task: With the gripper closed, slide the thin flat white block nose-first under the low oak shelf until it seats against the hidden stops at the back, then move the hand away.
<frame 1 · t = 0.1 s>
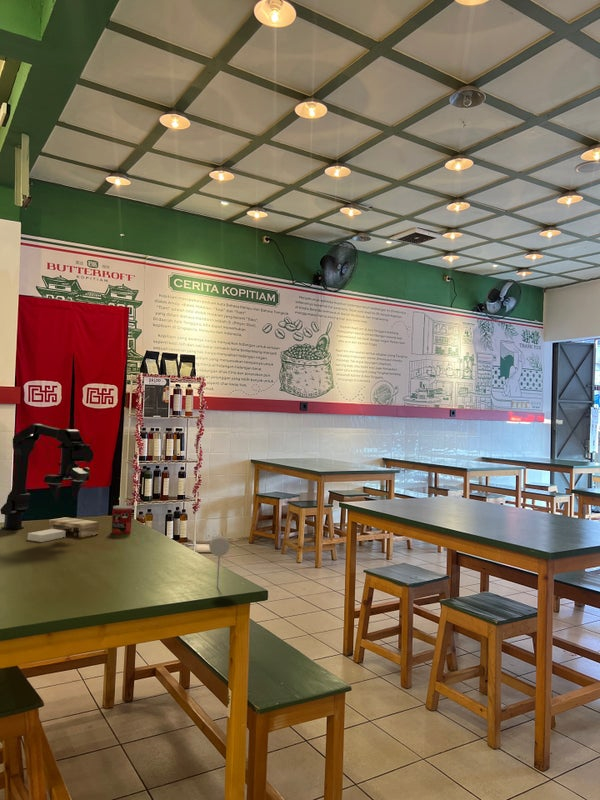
hand: (65, 499, 239), 15 cm above the table, tool pointing down, fingers open, 9 cm apart
canned food: (121, 533, 252), on the table
oak shelf: (73, 533, 246), on the table
flat white block: (46, 538, 233), on the table
lollipop: (217, 588, 176), on the table
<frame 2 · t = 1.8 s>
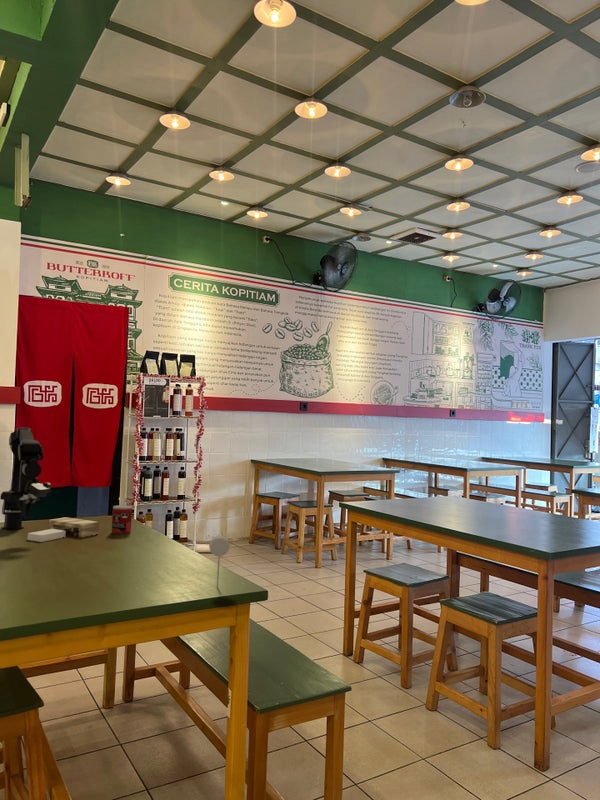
hand: (25, 517, 224), 9 cm above the table, tool pointing down, fingers closed
nothing on the table moved.
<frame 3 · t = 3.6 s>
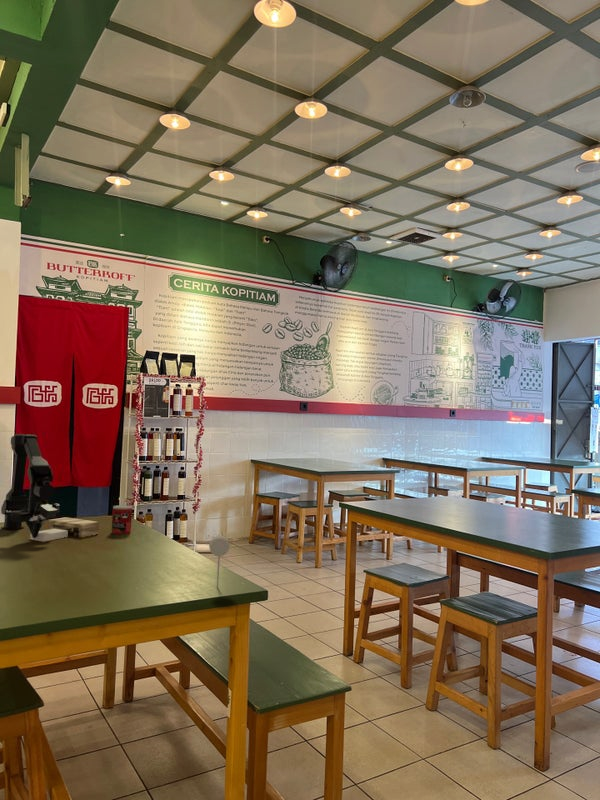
hand: (34, 537, 228), 1 cm above the table, tool pointing down, fingers closed
flat white block: (49, 538, 234), on the table, touching gripper
everything else where it was.
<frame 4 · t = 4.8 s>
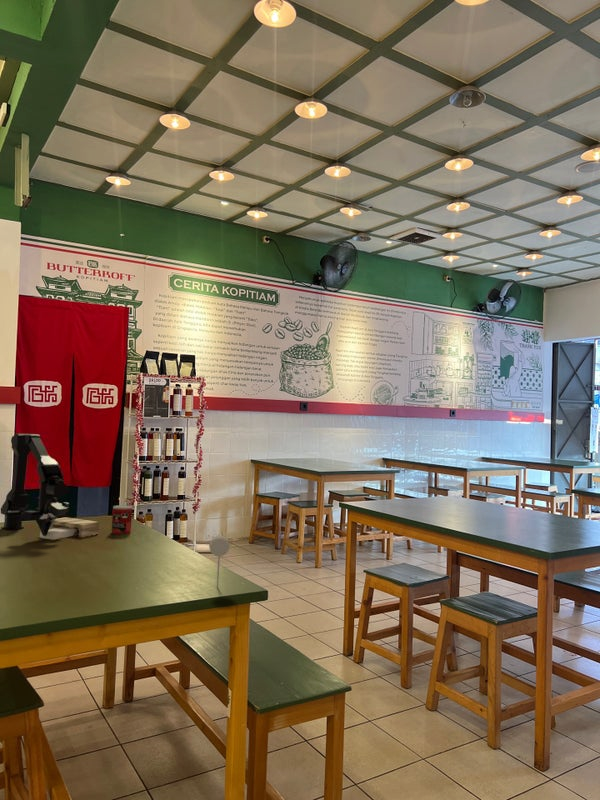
hand: (44, 535, 232), 1 cm above the table, tool pointing down, fingers closed
flat white block: (58, 536, 238), on the table, touching gripper
everything else where it was.
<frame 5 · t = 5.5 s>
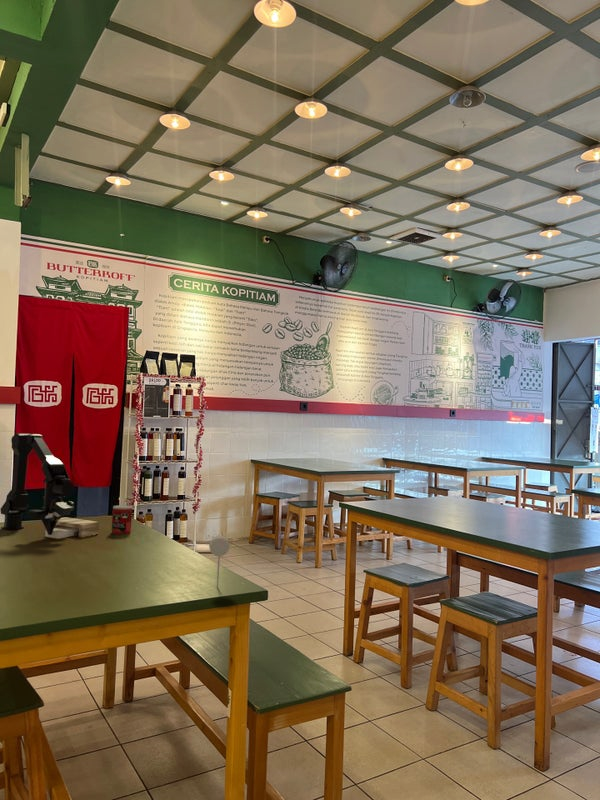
hand: (49, 534, 235), 1 cm above the table, tool pointing down, fingers closed
flat white block: (63, 535, 241), on the table, touching gripper
everything else where it was.
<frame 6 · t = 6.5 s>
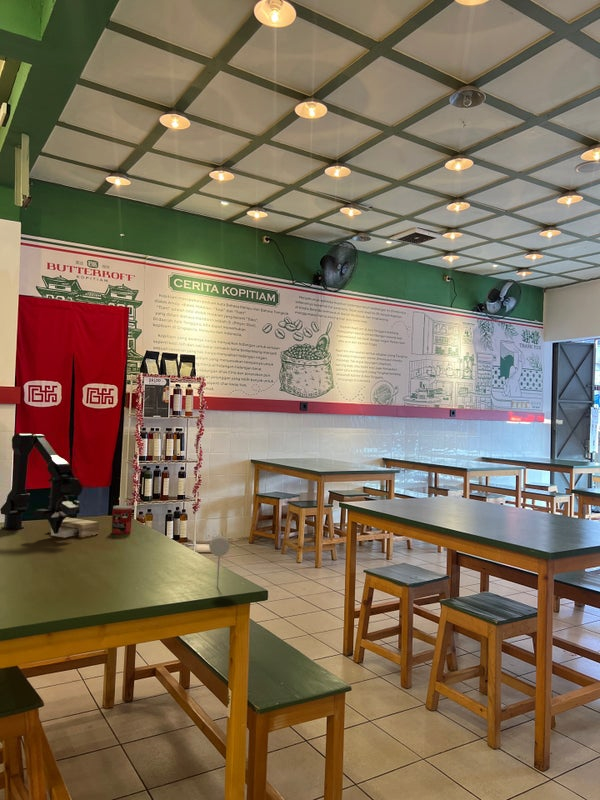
hand: (55, 533, 237), 1 cm above the table, tool pointing down, fingers closed
flat white block: (69, 534, 244), on the table, touching gripper
everything else where it was.
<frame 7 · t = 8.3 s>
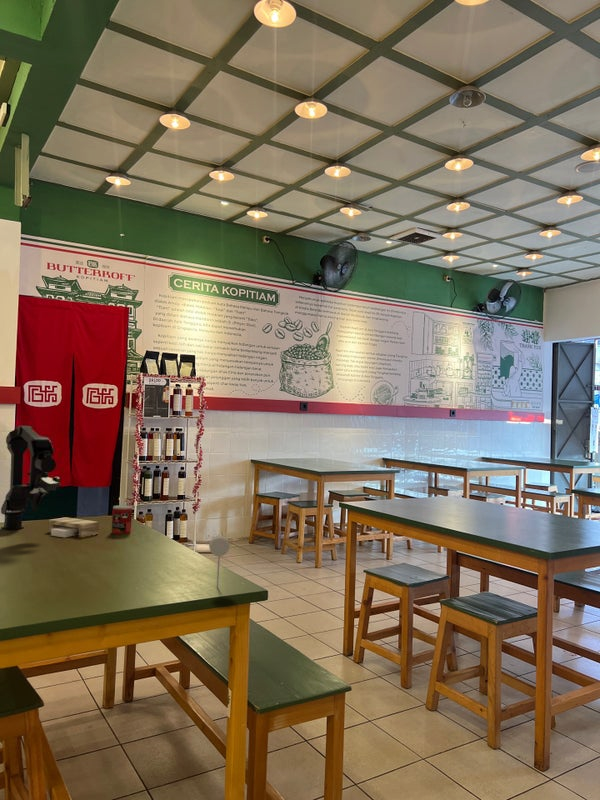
hand: (35, 510, 233), 11 cm above the table, tool pointing down, fingers closed
flat white block: (69, 534, 244), on the table
everything else where it was.
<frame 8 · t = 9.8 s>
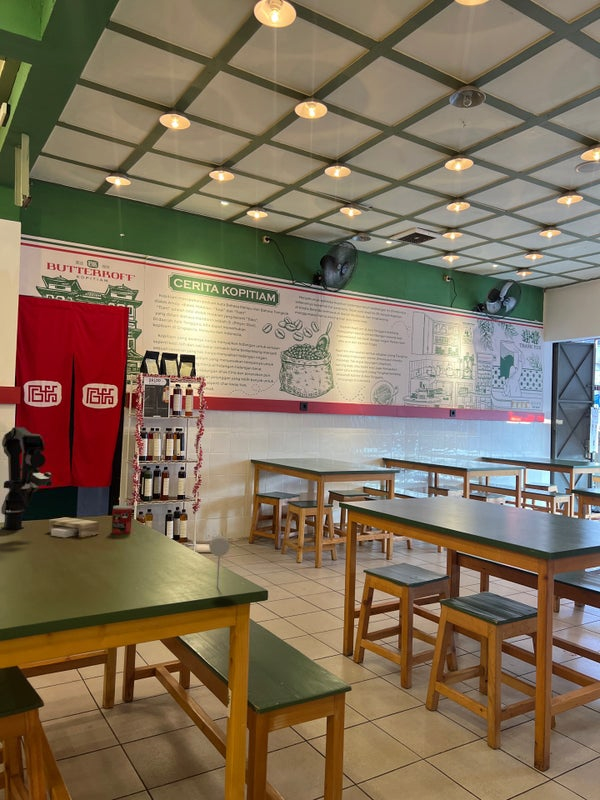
hand: (26, 505, 236), 12 cm above the table, tool pointing down, fingers closed
nothing on the table moved.
at the end: flat white block 0.3 cm from the target spot on the oak shelf, point 0.0 cm above the oak shelf's base; flat white block tilted 0°; the gripper is holding nothing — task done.
